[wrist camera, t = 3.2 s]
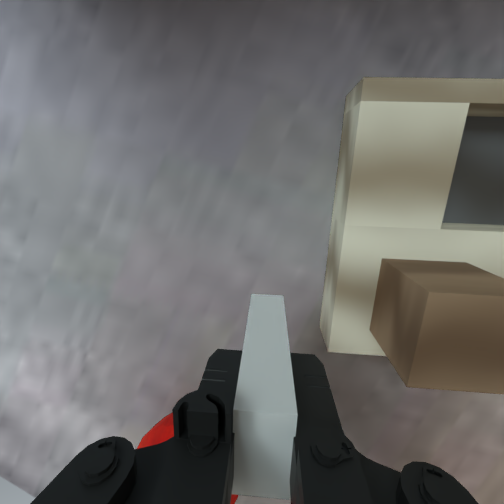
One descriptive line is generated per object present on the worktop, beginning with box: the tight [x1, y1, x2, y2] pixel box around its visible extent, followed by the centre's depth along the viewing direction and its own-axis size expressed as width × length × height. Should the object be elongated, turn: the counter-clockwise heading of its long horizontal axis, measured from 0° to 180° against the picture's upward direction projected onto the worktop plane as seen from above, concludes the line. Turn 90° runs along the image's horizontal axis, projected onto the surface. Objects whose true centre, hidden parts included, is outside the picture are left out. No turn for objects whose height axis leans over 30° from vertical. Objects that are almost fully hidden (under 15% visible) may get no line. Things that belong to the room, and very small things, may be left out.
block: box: [369, 258, 504, 394], centre depth 13 cm, size 4×4×4 cm
